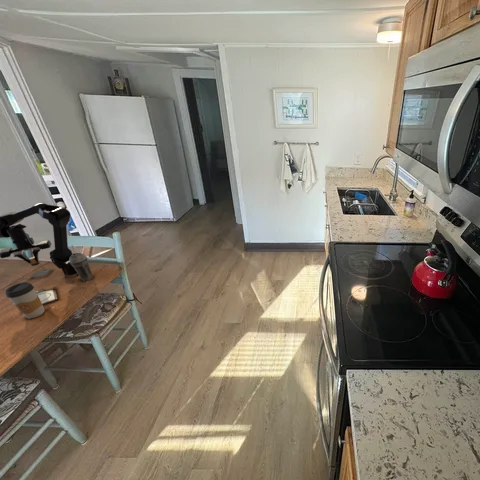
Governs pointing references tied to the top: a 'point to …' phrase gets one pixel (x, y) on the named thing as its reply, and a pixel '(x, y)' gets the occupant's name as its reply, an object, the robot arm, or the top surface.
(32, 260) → the stamp
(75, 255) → the beverage cup
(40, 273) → the ink pad
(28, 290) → the coffee cup
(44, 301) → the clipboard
